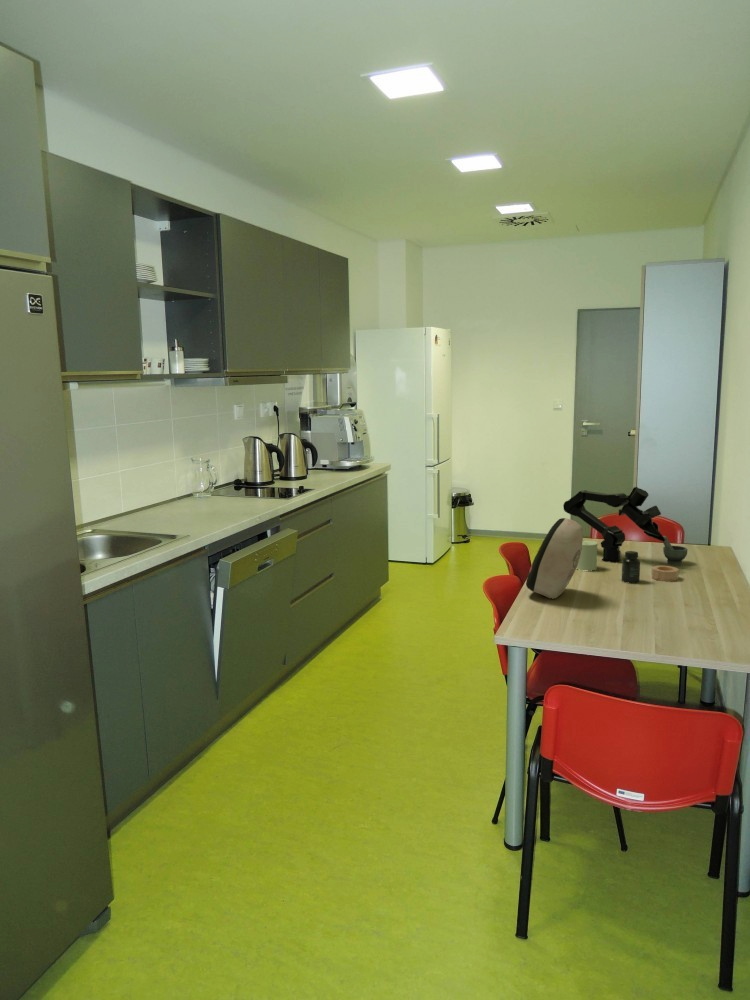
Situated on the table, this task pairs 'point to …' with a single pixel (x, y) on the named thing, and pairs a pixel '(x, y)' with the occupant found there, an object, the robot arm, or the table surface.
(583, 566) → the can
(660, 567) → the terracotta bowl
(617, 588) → the table surface
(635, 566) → the supplement bottle
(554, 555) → the grey rounded piece
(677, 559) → the mortar and pestle
